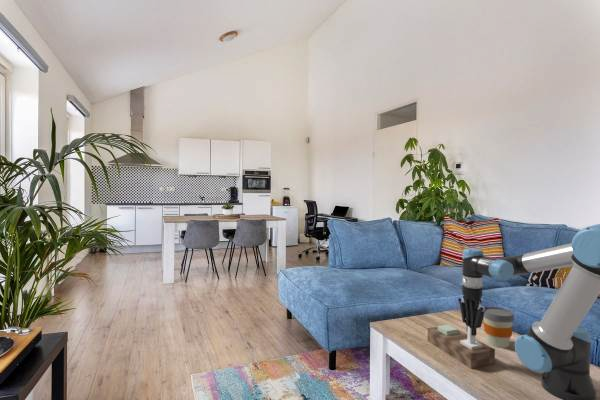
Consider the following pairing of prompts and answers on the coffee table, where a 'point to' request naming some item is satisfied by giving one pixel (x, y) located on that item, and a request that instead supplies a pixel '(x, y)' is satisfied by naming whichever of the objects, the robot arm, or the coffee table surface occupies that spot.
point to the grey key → (471, 344)
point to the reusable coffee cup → (498, 326)
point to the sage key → (447, 330)
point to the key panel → (462, 348)
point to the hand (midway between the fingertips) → (471, 341)
